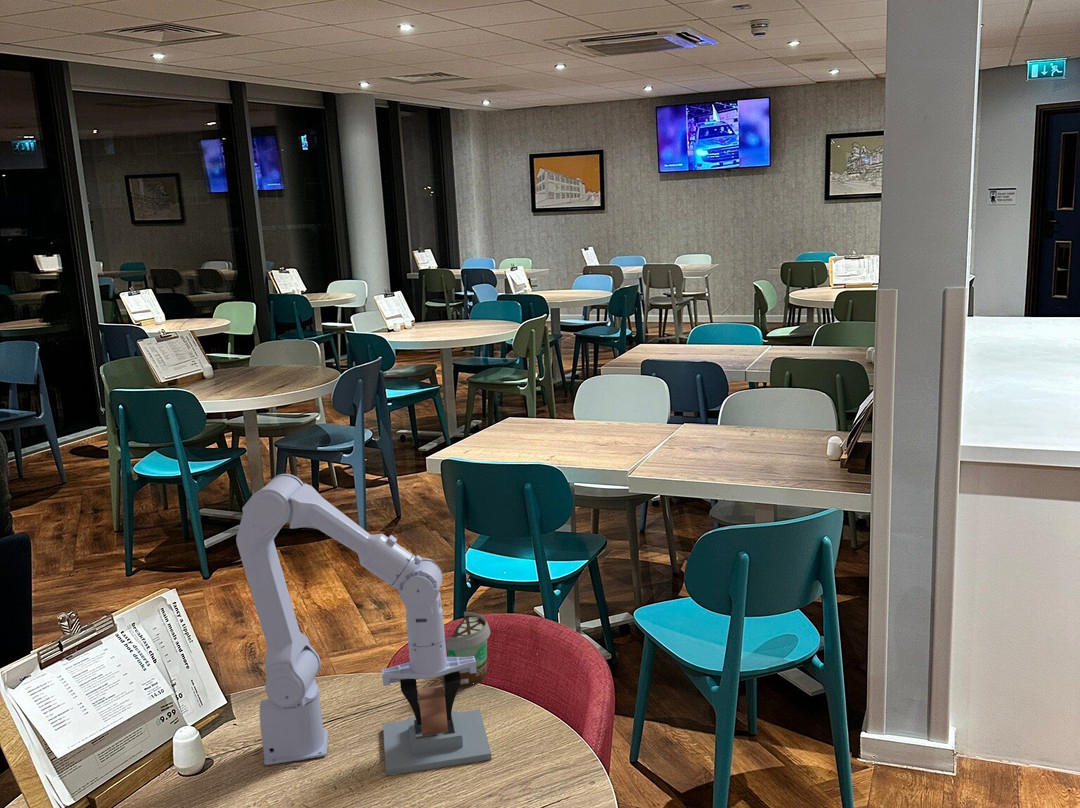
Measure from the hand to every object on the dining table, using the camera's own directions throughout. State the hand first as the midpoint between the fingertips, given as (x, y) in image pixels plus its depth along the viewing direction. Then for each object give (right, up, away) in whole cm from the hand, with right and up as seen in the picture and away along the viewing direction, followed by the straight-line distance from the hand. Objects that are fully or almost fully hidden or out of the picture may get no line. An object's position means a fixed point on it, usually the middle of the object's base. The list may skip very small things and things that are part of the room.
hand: (433, 719), depth 151 cm
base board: (0, -4, +1) cm, 4 cm away
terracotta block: (0, -1, +1) cm, 2 cm away
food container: (+5, 0, +23) cm, 23 cm away
